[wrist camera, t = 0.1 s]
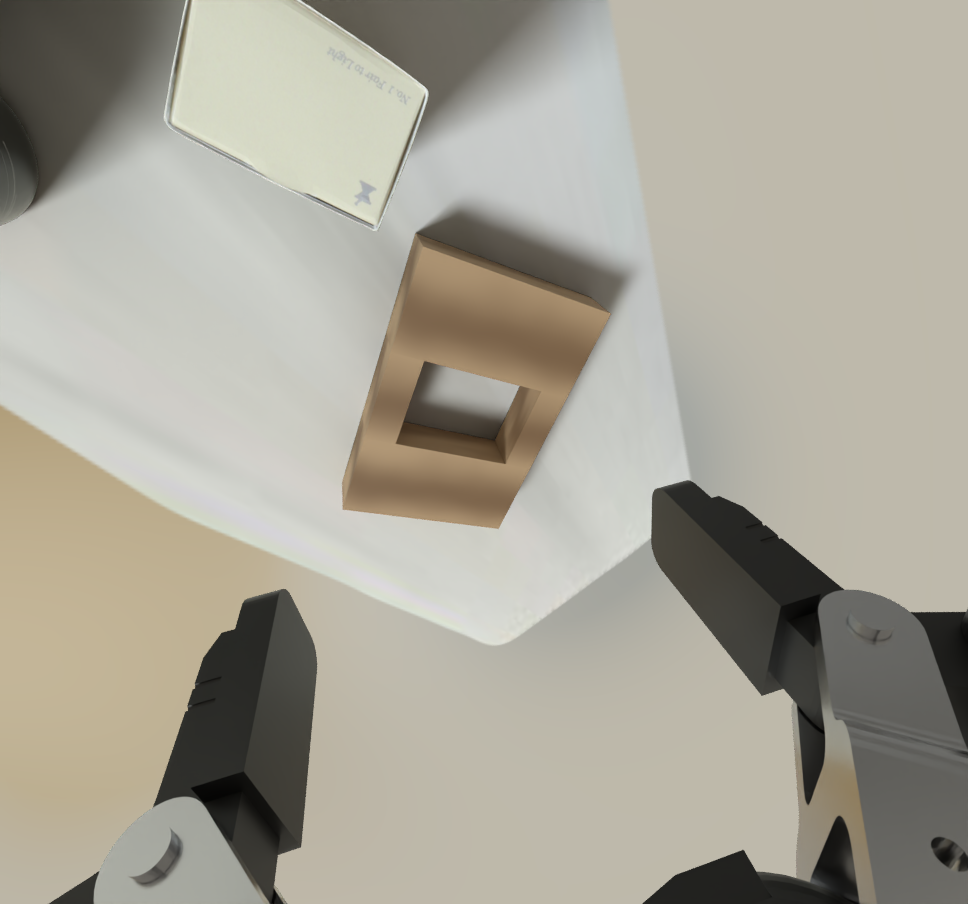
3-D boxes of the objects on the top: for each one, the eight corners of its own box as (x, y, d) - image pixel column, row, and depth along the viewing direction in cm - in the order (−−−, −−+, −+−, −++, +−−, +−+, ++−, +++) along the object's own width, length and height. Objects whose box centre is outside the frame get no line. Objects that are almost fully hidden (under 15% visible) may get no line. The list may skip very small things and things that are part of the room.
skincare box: (399, 90, 23) (443, 89, 14) (365, 184, 25) (383, 238, 16) (260, -1, 21) (196, -81, 11) (233, 112, 22) (159, 127, 13)
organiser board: (415, 233, 27) (423, 246, 25) (590, 297, 32) (611, 313, 30) (342, 482, 36) (342, 509, 33) (489, 503, 41) (498, 528, 38)
